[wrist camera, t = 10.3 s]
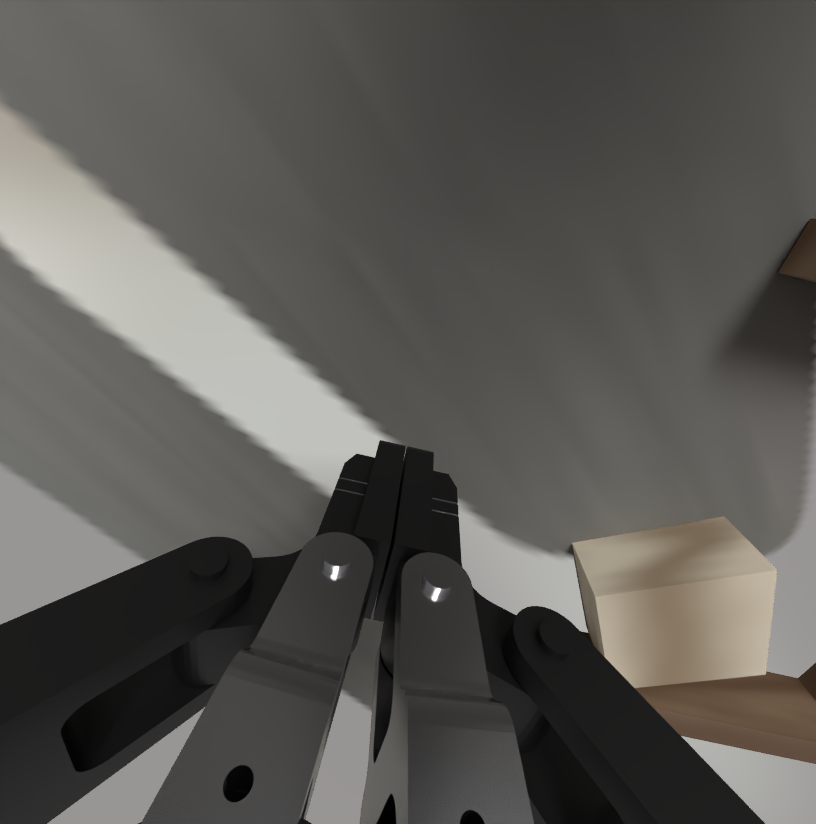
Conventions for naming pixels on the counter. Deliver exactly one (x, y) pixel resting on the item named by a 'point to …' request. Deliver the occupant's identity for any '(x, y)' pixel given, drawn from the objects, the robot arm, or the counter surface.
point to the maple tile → (678, 602)
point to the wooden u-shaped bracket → (753, 695)
